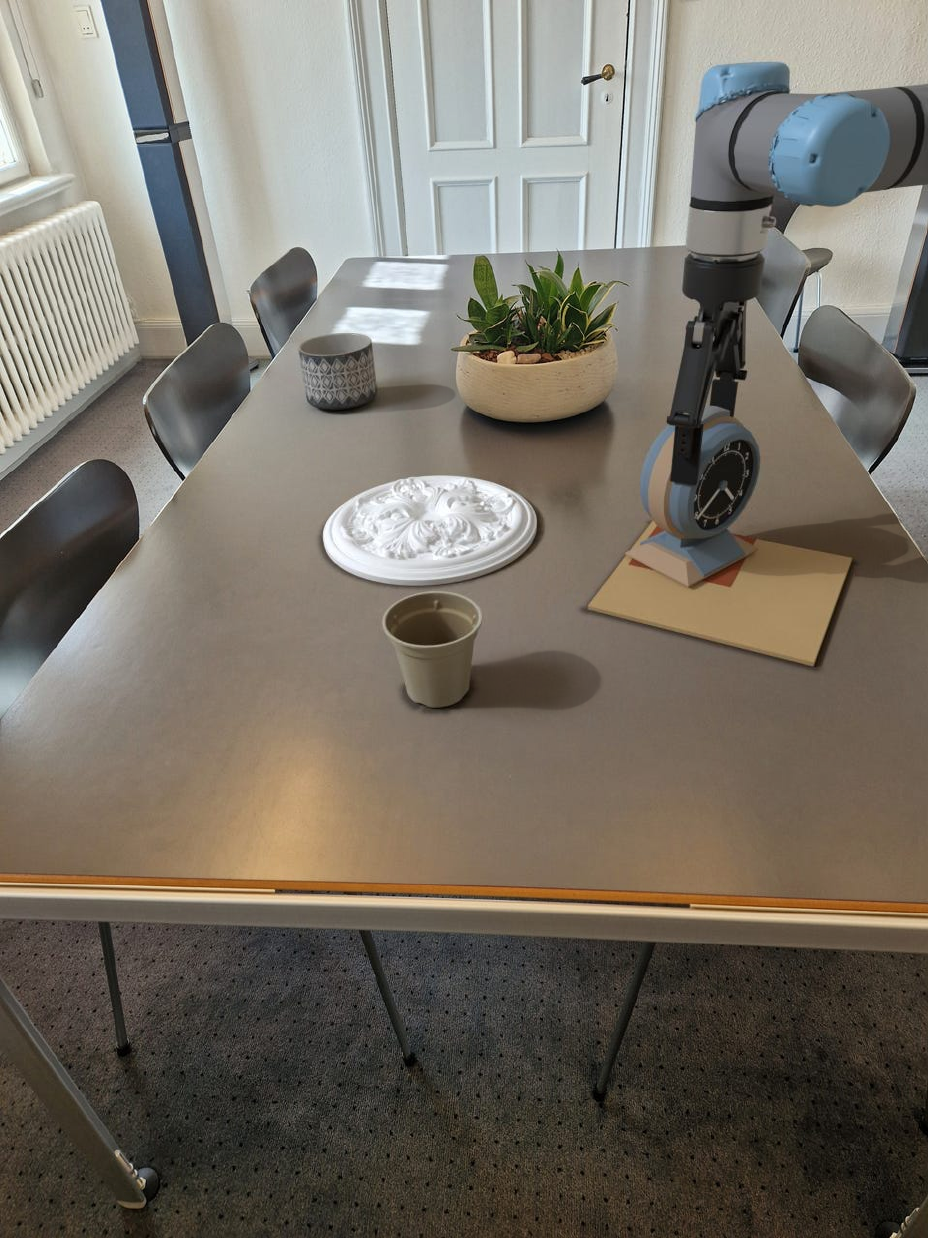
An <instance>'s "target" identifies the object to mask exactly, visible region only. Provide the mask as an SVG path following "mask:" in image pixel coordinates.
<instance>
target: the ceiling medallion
mask: <svg viewBox="0 0 928 1238" xmlns="http://www.w3.org/2000/svg"><path fill="white" fill-rule="evenodd" d="M537 530H538V519H537V514H536V511H535V509H534V508H533V506H532V505H531V503H530V502H529V501H528V500H527V499H525V497H523V496H522V495H521V494H519V493H517V492H515V490H512V489H510V488H508V487H506V486H503V485H501V484H498V483H496V482H492V481H488V480H484V479H480V478H475V477H468V476H460V475H424V476H423V475H422V476H410V477H407V478H399V479H397V480H393V481H390V482H387V483H383V484H380V485H377V486H375V487H372V488H369V489H367V490H365V491H363V492H360V493H358V494H357V495H355V496H353V497H352V498H350V499H348V500H347V501H345V502H344V503H342V505H340V506H339V507H338V508H336V510H334V512H333V513H331V514H330V516H329V517H328V519H327V520H326V522H325V524H324V528H323V532H322V540H323V546H324V549H325V551H326V554H327V556H328V557H329V558H330V560H331V561H332V562H333V563H335V565H336V566H338V567H339V568H341V569H342V570H344V571H346V572H348V573H350V574H352V575H354V576H356V577H359V578H362V579H364V580H368V581H372V582H375V583H381V584H388V585H394V586H395V585H396V586H406V587H407V586H411V587H413V586H414V587H415V586H416V587H421V586H423V587H425V586H436V585H437V586H438V585H447V584H453V583H458V582H464V581H467V580H471V579H475V578H479V577H481V576H484V575H487V574H490V573H492V572H495V571H497V570H499V569H501V568H503V567H505V566H507V565H509V564H510V563H512V562H513V561H515V560H517V559H518V558H519V557H520V556H522V555H523V554H524V553H525V552H526V551H527V550H528V548H530V546H531V545H532V544H533V541H534V539H535V538H536V534H537Z"/></svg>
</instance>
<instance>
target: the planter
mask: <svg viewBox="0 0 928 1238" xmlns="http://www.w3.org/2000/svg"><path fill="white" fill-rule="evenodd" d="M297 349H298V355H299V361H300V368H301V373H302V378H303V379H302V380H303V385H304V392H305V397H306V401H307V403H308V404H309V405H310V406H312V407H314V408H317V409H322V410H330V411H346V410H351V409H354V408H357V407H361V406H363V405H366V404H368V403H370V402H372V401H374V399H375V398H377V396H378V383H377V376H376V366H375V359H374V351H373V341H372V338H371V337H370V336H368V335H366V334H361V333H356V332H355V333H354V332H335V333H328V334H321V335H317V336H314V337H311V338H308V339H306V340H304V341H302V342H301V343H300V344H299V345H298V347H297Z"/></svg>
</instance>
